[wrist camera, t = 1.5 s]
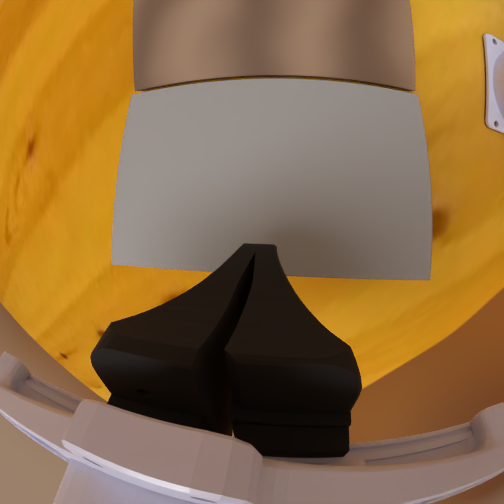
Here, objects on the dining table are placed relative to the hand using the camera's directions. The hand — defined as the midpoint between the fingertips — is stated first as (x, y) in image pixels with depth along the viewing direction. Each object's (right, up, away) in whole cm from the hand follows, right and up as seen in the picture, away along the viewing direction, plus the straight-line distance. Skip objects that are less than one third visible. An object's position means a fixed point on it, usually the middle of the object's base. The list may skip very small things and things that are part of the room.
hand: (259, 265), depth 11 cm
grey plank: (+1, +5, +4) cm, 6 cm away
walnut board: (+1, +15, +1) cm, 15 cm away
